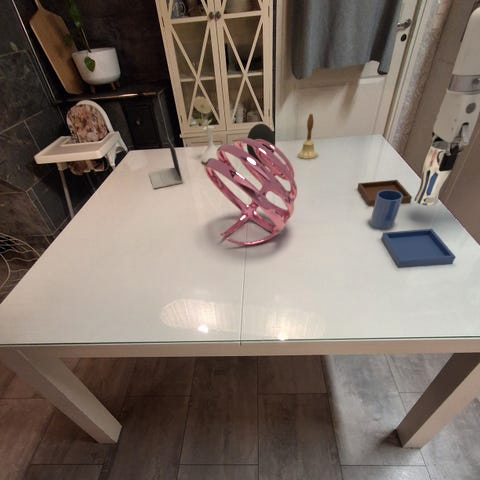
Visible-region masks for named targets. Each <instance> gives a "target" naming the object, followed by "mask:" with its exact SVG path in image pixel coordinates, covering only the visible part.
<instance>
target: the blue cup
mask: <svg viewBox="0 0 480 480" xmlns="http://www.w3.org/2000/svg"><path fill="white" fill-rule="evenodd" d="M402 198H403V195H402V194H401V193H400V192H398V191H394V190H383V191H380V192H378V193H377V197H376V201H375V205H374V206H373V207H372V208H373V209H372V213H371V217H370V221H369V224H370V226H371V227H372V228H375V229H378V230H389V229H391V228H393V227H394V226H395V223H396V219H397V217H398V213H399V209H400V207H401V205H402V204H401V201H402Z"/></svg>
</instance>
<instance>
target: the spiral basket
mask: <svg viewBox="0 0 480 480" xmlns="http://www.w3.org/2000/svg"><path fill="white" fill-rule="evenodd" d="M243 143H244V144H246V145H247V144H248V145H250V146H252V147H253V149H254V151H255V153H256V155H257V156H258V158H259V159H260V160H261V161H262V163H260V162H259V161H258V160H257V159H255V158H254V157H253V156H251V155H250V154H249V153H248V151H246V150H245V149H244V146H243V145H244V144H243ZM262 144H264V145H266V146H268V147H270V148H271V149H272V150H274V154H273V153H272V152H271V151H270V150H269V149H267V148H266V147H265V146H263V145H262ZM217 149H218V150H217V158H218V160H217V159H214V158H210V159H209V160H208V161H207V162H206V163H204V167H203V170H204V172H205V174H206V176H207V177H208V179H209V180H210V181H211V183H212V184H213V185H214V186H215V187H216V188H217V189H218V191H219V192H220V193H221V194H222V195H223V196H224V197H225V198H226V199H227V200H228V201H229V202H231V204H232V205H234V206H235V207H236V208H237V209H238V210H239V211H240V212H241V215H240V216H239V218H237V219H236V221H235V222H234V223H233V224H231V226H230V227H228V228H227V229H226V230H224V231H223V232H221V233H219V236H220V237H223V236H228V235H230V234H232V233H234V232H235V231H237V230H238V229H239V228H240V227H242V226H243V225H244V224H245V223H246V222H247V221H248V220H251V221H253V222H254V223H256V224H257V225H258V226H261V227H262V228H263V229H265V230H267V231H269V232H271V233H270V234H268V235H267V236H265V237H263V238H260V239H257V240H254V241H239V240H235V239H233V238H229V237H226V238H225V240H226V241H227V242H229V243H232V244H235V245H240V246H254V245H258V244H262V243H264V242H266V241H268V240H270V239H272V238H274V236H276V235H277V234H279V233H281V231H283V229H284V227H285V225H286V224H287V222H288V221H289V219H290V218H291V217H292V216H293V214H294V210H295V200H296V199H297V196H298V185H297V182H296V180H295V169H294V168H293V164H292V163H291V161H290V160H289V158H288V157H287V156H286V154H284V153H283V152H282V150H280V149H279V148H278V147H277V146H276V145H275V146H274V145H273V144H271V143H269V142H268V141H265V140H262V139H255V140H253V139H250V138H247V137H238V138H236V139H235V140H234V141H233V144H232V143H224V144H222V145H221V146H219V147H217ZM226 153H228V154H230V155H232V156H234V157H235V158H237V159H238V160H239V161H240V162H241V164H242V165H243V166H244V168H245V169H247V171H248V172H249V173H250V174H251V176H253V178H255V180H257V181H258V183H260V184H261V188H260V189H258V188H257V187H256V186H255V185H254V184H253V183H251V182H250V180H248V179H247V178H246V177H245V176H243V175H242V174H241V173H239V172H238V171H237V169H236V168H235V167H234V166H233V165H232V163H231V161H230V160H229V158H228V156H227V154H226ZM275 153H276V154H277V155H278V156H279V157H280V158H281V159H282V160H283V162H282V161H281V159H280V158H278V156H277V155H276V154H275ZM217 173H219V174H220V175H221V176H223V177H225V178H226V179H227V180H229V181H230V182H231V183H232V184H233V185H235V186H236V187H237V188H239V189H240V190H241V191H242V192H243V193H245V194H246V195H247V196H248V197H249V198H250V199H251V202H250V203H249V204H246V203H245V202H244V201H242V199H241V198H240V197H238V196H237V195H236V194H235V193H234V192H233V191H232V190H231V189H230V188H229V187H228V186H227V184H225V182H224V181H223V180H222V179H221V178H220V177H219V176H218V174H217ZM277 177H278V178H280V179H282V180H284V181H286V182H288V183H289V185H290V190H288V189H286V187H285V186H284V185H283V184H282V183H281V181H280V180H279V179H278V178H277ZM268 192H271V193H273V194H274V195H275V196H277V197H279V198H280V199H281V200H282V202H283V203H284V205H285V207H286V209H285V208H282V207H280V206H278V205H276V204H275V203H273V202H271V201H270V200H269V199H268V197H266V196H267V193H268ZM258 208H260V209H261V210H262V211H263V212H264V213H265V214H266V215H267V216H268V218H270V220H271V221H272V222H270V221H269V220H268V219H265V218H264V217H263V216H261V214H258V212H257V209H258Z"/></svg>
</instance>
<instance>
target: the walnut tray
mask: <svg viewBox="0 0 480 480" xmlns="http://www.w3.org/2000/svg"><path fill="white" fill-rule="evenodd" d="M383 190H394V191H398V192H400V193H401V194H402V195H403V198H402V201H401V204H400V205H402V204H410V203H411V201H412V198H413V196H412V195H411V194H410V193H409V191H407V189H406V188H405V186H403V185H402V184H401V182H400V181H399V180H398V179H390V180H380V181H369V182H358V184H357V191H358V193H359V194H360V195H361V197H362V199H363V201H364V203H365V205H367V207H374V205H375V201H376V197H377V193H378V192H380V191H383Z"/></svg>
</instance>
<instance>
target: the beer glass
mask: <svg viewBox="0 0 480 480" xmlns="http://www.w3.org/2000/svg"><path fill="white" fill-rule="evenodd" d="M447 144H448V142H446V141H437V142H434V143H432V144H431V143H430V145H431V147H430V146H429V148H430V149H428V151H429V152H428V151H427V154H426V157H425V160H424V162H423V166H422V172H421V180H420V186H419V189H418V191H417V193H416V195H415V197H414V199H413V201H414V202H415V204H418V205H420V206H427V207H429V206H434V205H436V204H437V203H438V202H439V196H440V195H439V194H440V192H441V190H442V187H443V185H444V184H445V182H446V180H447V178H448V177H449V175H450V173H451V171H452V170H450V171H441V172H440V171H439V168H440V165H441V162H442V159H443V157H444V155H445V154H446V153H447ZM456 145H457V144H452V148H454V147H455V146H456Z"/></svg>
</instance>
